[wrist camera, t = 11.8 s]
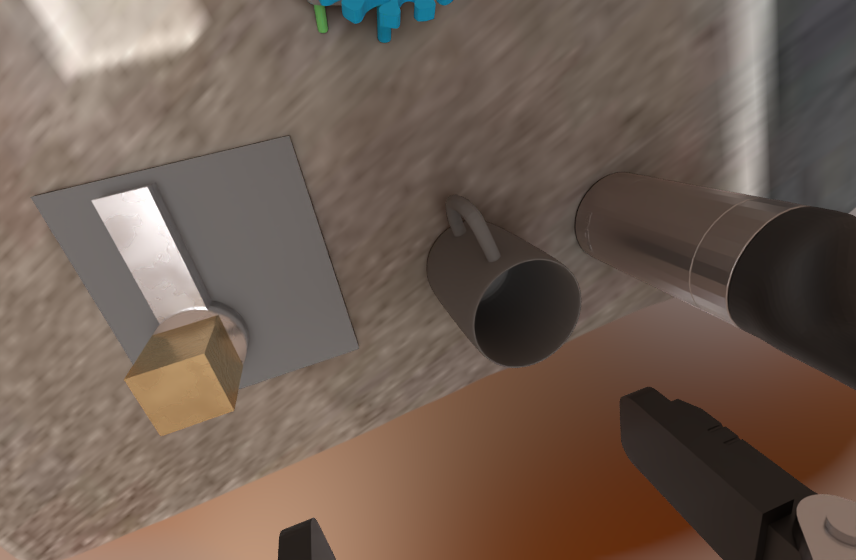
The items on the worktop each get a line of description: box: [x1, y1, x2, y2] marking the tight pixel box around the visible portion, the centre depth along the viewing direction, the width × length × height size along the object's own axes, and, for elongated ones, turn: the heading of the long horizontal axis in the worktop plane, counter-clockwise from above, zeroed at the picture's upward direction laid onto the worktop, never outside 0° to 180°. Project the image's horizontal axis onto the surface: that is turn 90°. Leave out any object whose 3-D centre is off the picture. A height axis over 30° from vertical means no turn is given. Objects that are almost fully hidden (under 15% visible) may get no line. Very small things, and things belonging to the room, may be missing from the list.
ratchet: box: [91, 183, 249, 364], centre depth 32 cm, size 7×16×6 cm, turn 12°
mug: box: [427, 195, 581, 368], centre depth 35 cm, size 14×9×12 cm
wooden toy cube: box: [124, 315, 243, 436], centre depth 31 cm, size 5×5×6 cm
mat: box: [31, 135, 359, 389], centre depth 35 cm, size 18×20×1 cm
